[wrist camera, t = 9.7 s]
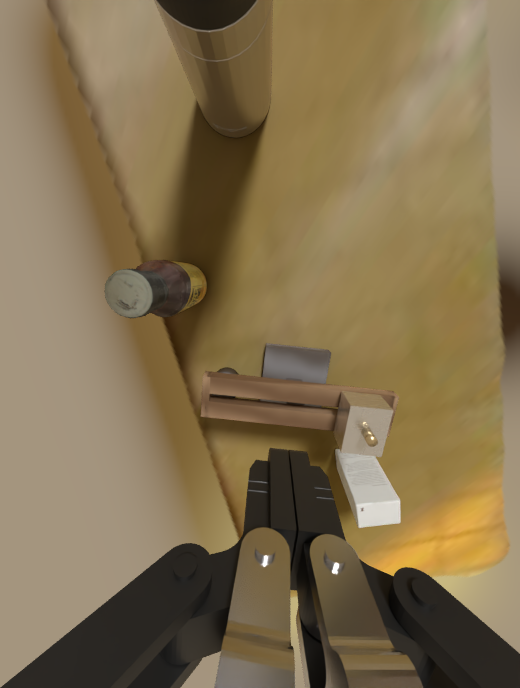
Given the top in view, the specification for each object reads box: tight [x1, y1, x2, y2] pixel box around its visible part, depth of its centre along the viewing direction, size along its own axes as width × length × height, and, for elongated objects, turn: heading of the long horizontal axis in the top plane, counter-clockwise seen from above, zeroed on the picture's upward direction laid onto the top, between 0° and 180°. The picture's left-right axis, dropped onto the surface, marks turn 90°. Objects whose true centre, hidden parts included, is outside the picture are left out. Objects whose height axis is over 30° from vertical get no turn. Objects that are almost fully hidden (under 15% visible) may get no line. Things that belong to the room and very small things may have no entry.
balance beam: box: [201, 343, 399, 437], centre depth 41 cm, size 12×26×9 cm, turn 84°
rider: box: [333, 391, 393, 457], centre depth 35 cm, size 6×5×8 cm
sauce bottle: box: [105, 260, 207, 318], centre depth 32 cm, size 6×6×20 cm
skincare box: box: [335, 449, 400, 528], centre depth 43 cm, size 6×4×12 cm
